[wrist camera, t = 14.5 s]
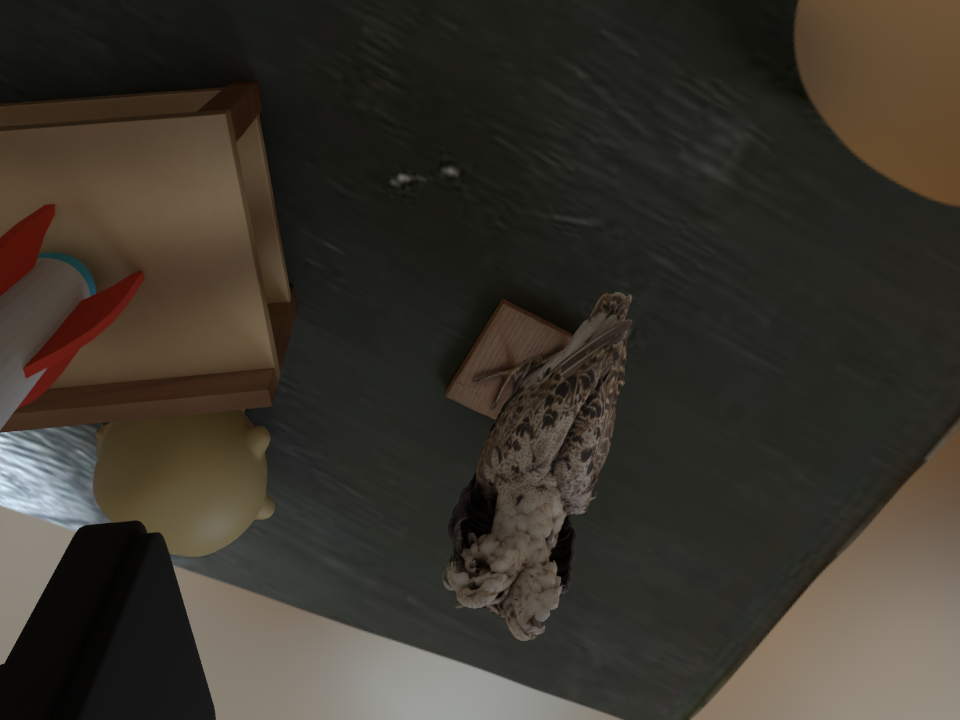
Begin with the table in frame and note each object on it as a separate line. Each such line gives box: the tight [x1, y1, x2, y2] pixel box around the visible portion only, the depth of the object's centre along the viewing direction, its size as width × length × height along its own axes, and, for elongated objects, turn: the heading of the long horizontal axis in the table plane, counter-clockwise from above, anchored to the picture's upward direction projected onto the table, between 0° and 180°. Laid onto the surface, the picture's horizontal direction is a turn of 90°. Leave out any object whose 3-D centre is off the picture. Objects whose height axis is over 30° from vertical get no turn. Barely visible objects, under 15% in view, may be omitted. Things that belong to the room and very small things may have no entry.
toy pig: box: [93, 409, 275, 557], centre depth 52 cm, size 10×12×11 cm
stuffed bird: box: [442, 292, 632, 641], centre depth 49 cm, size 10×20×17 cm, turn 169°
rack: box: [0, 81, 298, 432], centre depth 44 cm, size 14×18×12 cm
